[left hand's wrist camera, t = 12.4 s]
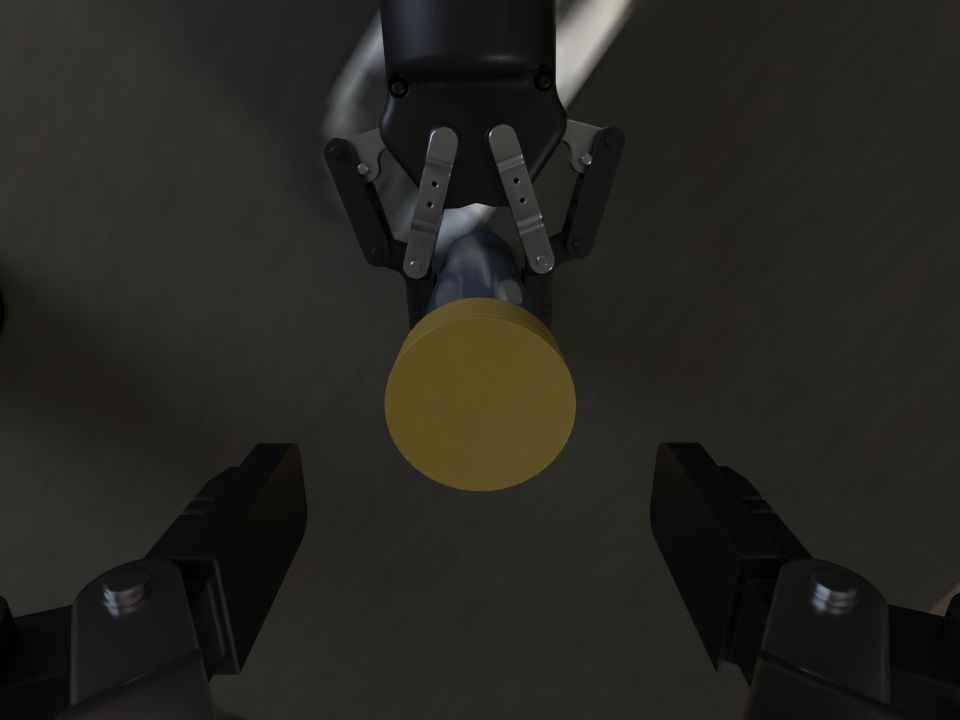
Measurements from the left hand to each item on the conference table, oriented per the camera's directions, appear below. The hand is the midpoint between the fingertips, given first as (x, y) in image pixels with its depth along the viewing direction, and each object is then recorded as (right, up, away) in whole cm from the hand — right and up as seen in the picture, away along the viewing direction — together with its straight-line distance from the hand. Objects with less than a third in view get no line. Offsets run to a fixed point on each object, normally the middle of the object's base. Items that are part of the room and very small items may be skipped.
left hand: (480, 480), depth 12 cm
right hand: (0, +3, +17) cm, 18 cm away
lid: (0, +1, +3) cm, 4 cm away
